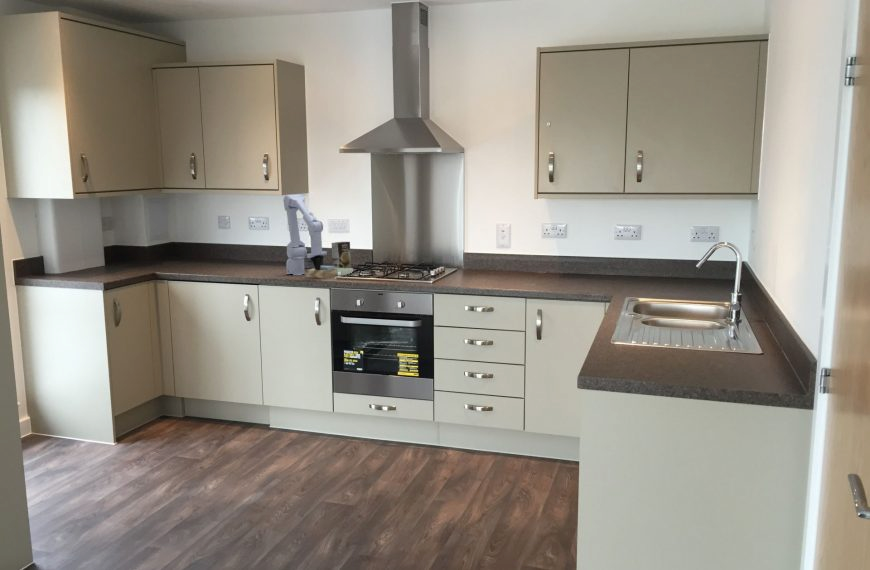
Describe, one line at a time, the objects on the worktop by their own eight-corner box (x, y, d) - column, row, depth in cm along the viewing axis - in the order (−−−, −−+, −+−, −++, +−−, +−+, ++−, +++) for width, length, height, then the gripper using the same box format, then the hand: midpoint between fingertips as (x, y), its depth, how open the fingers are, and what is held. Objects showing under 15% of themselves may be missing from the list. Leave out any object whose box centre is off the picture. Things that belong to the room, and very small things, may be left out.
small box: (324, 267, 429) (323, 250, 427) (320, 269, 422) (319, 251, 421) (307, 267, 431) (306, 250, 429) (303, 269, 424) (302, 251, 423)
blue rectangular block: (314, 269, 391) (314, 266, 391) (321, 268, 396) (321, 265, 396) (327, 270, 387) (327, 267, 386) (334, 268, 392) (334, 266, 392)
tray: (321, 274, 400) (321, 270, 399) (333, 271, 409) (333, 267, 409) (342, 275, 393) (342, 271, 393) (353, 273, 403) (353, 268, 402)
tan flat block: (306, 277, 391) (305, 270, 391) (318, 274, 401) (318, 267, 400) (325, 278, 385) (325, 271, 384) (337, 275, 395) (337, 268, 394)
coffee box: (340, 271, 410) (339, 243, 407) (332, 270, 414) (330, 242, 411) (351, 269, 417) (350, 241, 415) (343, 268, 421) (342, 241, 419)
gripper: (313, 246, 376) (315, 272, 378) (330, 243, 388) (332, 268, 390) (303, 245, 379) (304, 271, 381) (320, 242, 392) (321, 267, 394)
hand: (317, 269), depth 386 cm, fingers closed
